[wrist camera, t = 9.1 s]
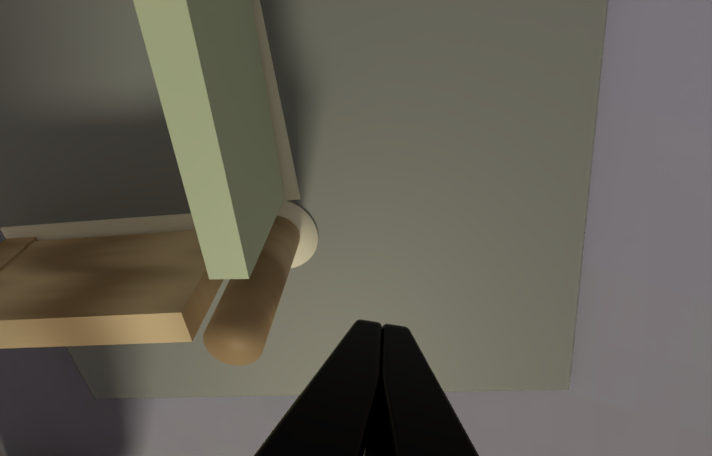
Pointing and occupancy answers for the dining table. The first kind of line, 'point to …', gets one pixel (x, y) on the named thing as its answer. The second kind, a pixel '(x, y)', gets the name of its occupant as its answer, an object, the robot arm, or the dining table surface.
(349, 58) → the card
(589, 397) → the dining table surface
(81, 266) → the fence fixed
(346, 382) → the robot arm
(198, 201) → the fence panel
